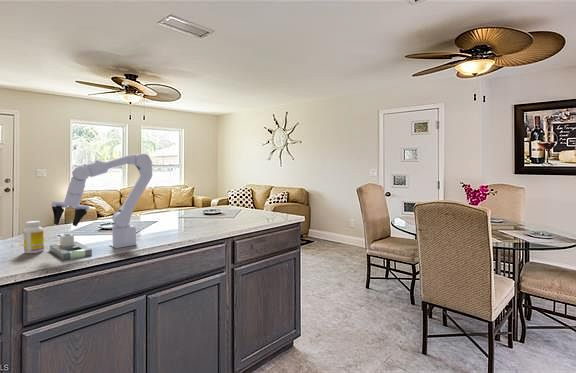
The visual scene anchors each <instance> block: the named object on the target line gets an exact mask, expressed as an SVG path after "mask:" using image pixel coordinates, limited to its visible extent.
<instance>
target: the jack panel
mask: <svg viewBox="0 0 576 373" xmlns="http://www.w3.org/2000/svg"><path fill="white" fill-rule="evenodd" d="M92 250H93V249H91V248H90V247H88V246H86V245H85V244H83V243H80V242H79V241H75V240H74V246H68V247H60V243H53V244H49V251H50V252H51V253H53V254H54V255H55V256H57V257H58V258H60V259H61V260H63V261H67V260H72V259H77V258H78V259H79V258H84V257H89V256H92V253H93V251H92Z"/></svg>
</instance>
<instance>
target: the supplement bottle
mask: <svg viewBox="0 0 576 373" xmlns="http://www.w3.org/2000/svg"><path fill="white" fill-rule="evenodd" d="M25 225H26V227H25V228H24V229H23V232H22V233H23V250H24V253H25V254H37V253H41V252H43V251H44V250H45V241H44V240H45V238H44V228H43V227H42V226H40V225H41V220H30V221H26V222H25Z"/></svg>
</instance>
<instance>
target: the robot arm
mask: <svg viewBox="0 0 576 373" xmlns="http://www.w3.org/2000/svg"><path fill="white" fill-rule="evenodd" d="M123 165H132V166H133V165H134V166H135V167H136V169H137V170H138V173H139V176H138V178H137V180H136V182H135V183H134V185H133V187H132V189H131V190H130V191H129V193H128V195H127V197H126V199H125V200H124V202H123V203H122V205H120V206H119V209H118V210H117V211H115V212H114V213H113V214H112V217H111V220H112V221H113V223H114V224H113V225H112V228H111V230H112V243H109V246H110V247H112V248H115V249H118V248H119V249H120V248H124V247H131V246H137V244H138V243H137V230H136V227H135V226H134V225H130V222H131V216H132V215H133V211H134V208H135V207H136V205H137V203H138V201H139V200H140V198H141V196H142V195H143V193H144V191H145V190H146V188H147V186H148V184H149V183H150V182H151V180H152V177H153V167H152V166H153V161H152V158H150V155H148V154H147V153H143V152H141V153H137V154H129V155H124V156H122V157H118V158H115V159H112V160H109V161H104V160H99V159H97V160H94V162H91V163H88V164H86V163H84V164H83V165H81V166H80V165H79V166H77V167H75V168H74V169H73V170H72V174H71V175H72V177H71V178H70V182H69V184H68V187H67V191H66V194H65V198H64V201H54V200H52V201H51V204H50V206H51V210H52V212H53V224H54V225H56V226H57V225H58V226H59V224H60V221H61V219H62V218H61V217H62V215H63V214H64V212H65V208H66V209H74V219H73V221H72V226H74V227H78V226H79V223H80V222H81V220H82V219H83V217H85V215H87V214H88V211H89V210H90V206H89V205H84V204H80V203H81V201H82V198H83V194H84V191H85V187H86V181H87V179H88V178H89V177H90V178H94V177H96V176H99V175H100V176H101V175H103V174H107V172H108V171H109V169H112V168H113V169H114V168H116V167H120V166H123ZM63 208H64V209H63Z"/></svg>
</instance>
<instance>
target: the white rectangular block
mask: <svg viewBox="0 0 576 373" xmlns="http://www.w3.org/2000/svg"><path fill="white" fill-rule="evenodd" d="M59 242H60V243H59V244H60V247H68V246H74V242H75V236H74V234H73V233H69V232H68V233H64V234H60V235H59Z"/></svg>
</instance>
